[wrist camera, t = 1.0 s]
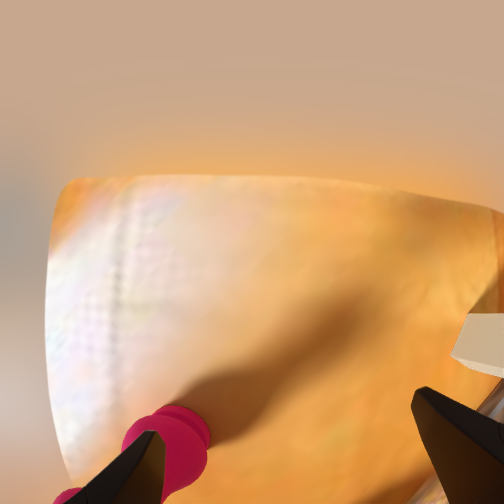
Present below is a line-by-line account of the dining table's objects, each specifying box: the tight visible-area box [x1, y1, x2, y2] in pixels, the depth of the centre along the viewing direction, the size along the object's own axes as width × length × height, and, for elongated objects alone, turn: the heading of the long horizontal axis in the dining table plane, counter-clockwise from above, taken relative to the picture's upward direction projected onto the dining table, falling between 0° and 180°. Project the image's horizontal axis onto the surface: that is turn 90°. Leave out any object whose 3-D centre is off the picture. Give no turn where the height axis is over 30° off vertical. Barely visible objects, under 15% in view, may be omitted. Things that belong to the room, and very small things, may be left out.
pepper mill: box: [53, 406, 210, 504], centre depth 12 cm, size 7×7×20 cm
